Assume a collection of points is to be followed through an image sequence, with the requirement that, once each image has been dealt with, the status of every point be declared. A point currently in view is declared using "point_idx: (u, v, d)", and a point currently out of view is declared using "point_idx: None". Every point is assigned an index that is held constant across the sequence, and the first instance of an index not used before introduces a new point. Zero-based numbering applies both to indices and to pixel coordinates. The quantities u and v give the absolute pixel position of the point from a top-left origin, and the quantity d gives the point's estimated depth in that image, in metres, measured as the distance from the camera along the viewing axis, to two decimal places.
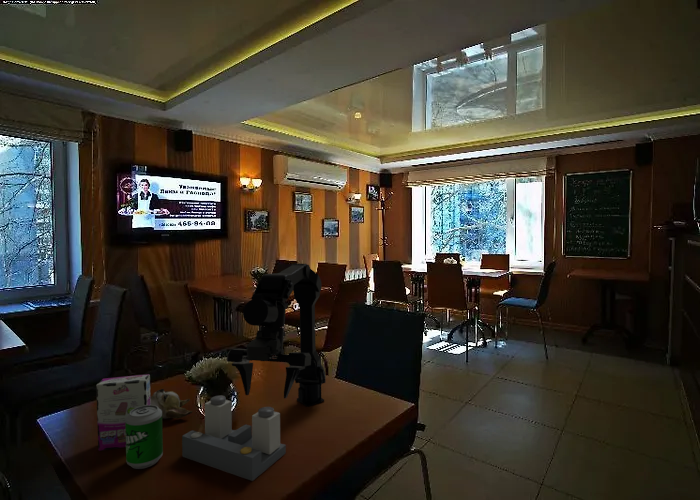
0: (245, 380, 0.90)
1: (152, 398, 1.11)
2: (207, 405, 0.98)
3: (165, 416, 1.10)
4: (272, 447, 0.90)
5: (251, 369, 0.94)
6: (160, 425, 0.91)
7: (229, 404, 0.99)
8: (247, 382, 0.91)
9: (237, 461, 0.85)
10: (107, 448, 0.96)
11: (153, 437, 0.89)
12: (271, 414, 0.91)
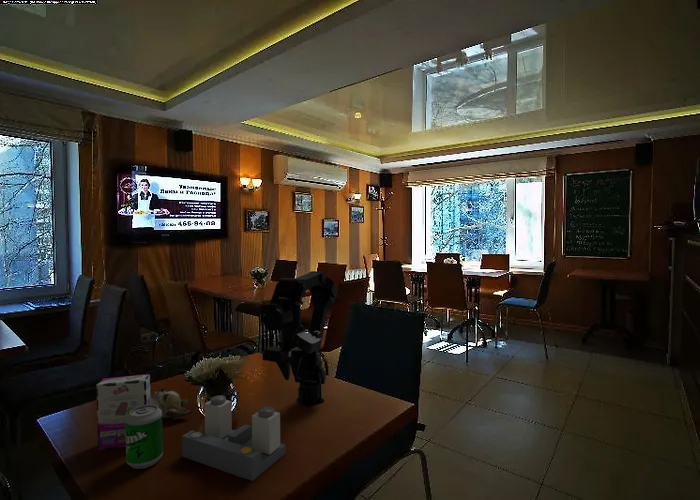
0: (289, 369, 1.09)
1: (153, 397, 1.11)
2: (207, 405, 0.98)
3: (165, 415, 1.11)
4: (272, 447, 0.90)
5: None
6: (160, 425, 0.91)
7: (229, 404, 0.99)
8: None
9: (237, 461, 0.85)
10: (107, 448, 0.96)
11: (153, 437, 0.89)
12: (271, 414, 0.91)
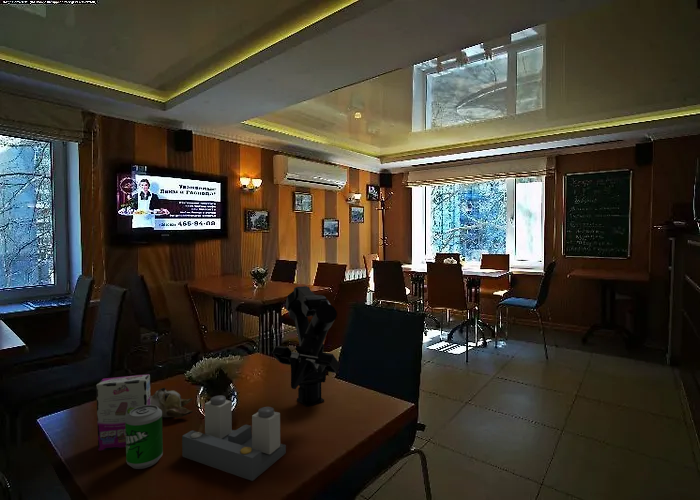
0: None
1: (154, 397, 1.12)
2: (207, 405, 0.98)
3: (166, 415, 1.11)
4: (272, 447, 0.90)
5: None
6: (160, 425, 0.91)
7: (229, 404, 0.99)
8: None
9: (237, 461, 0.85)
10: (107, 448, 0.96)
11: (153, 437, 0.89)
12: (271, 414, 0.91)
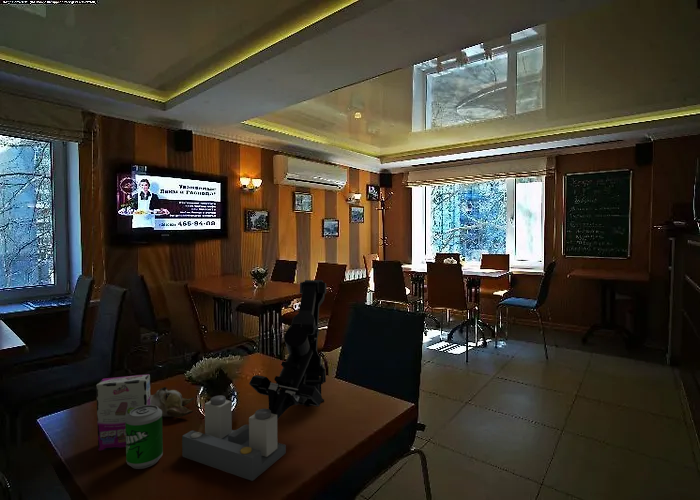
0: None
1: (155, 396, 1.12)
2: (207, 405, 0.98)
3: (166, 414, 1.12)
4: (269, 449, 0.89)
5: None
6: (160, 425, 0.91)
7: (229, 404, 0.99)
8: None
9: (237, 461, 0.85)
10: (107, 448, 0.96)
11: (153, 437, 0.89)
12: (268, 416, 0.90)
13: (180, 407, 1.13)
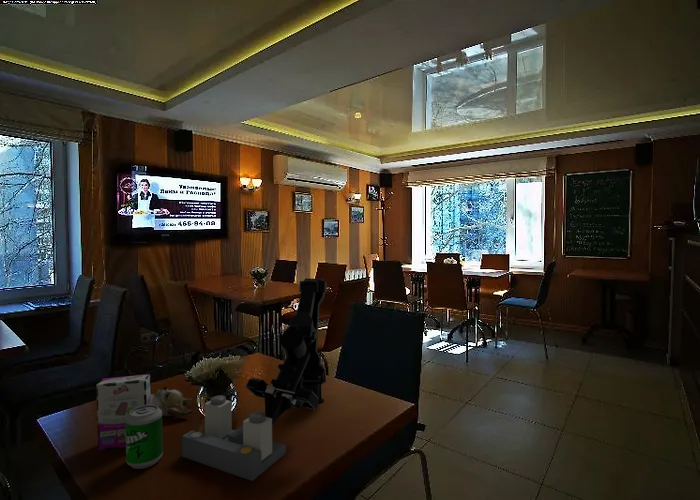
0: None
1: (155, 395, 1.13)
2: (207, 405, 0.98)
3: (167, 414, 1.12)
4: (263, 454, 0.88)
5: None
6: (160, 425, 0.91)
7: (229, 404, 0.99)
8: None
9: (237, 461, 0.85)
10: (107, 448, 0.96)
11: (153, 437, 0.89)
12: (263, 420, 0.88)
13: (180, 407, 1.13)
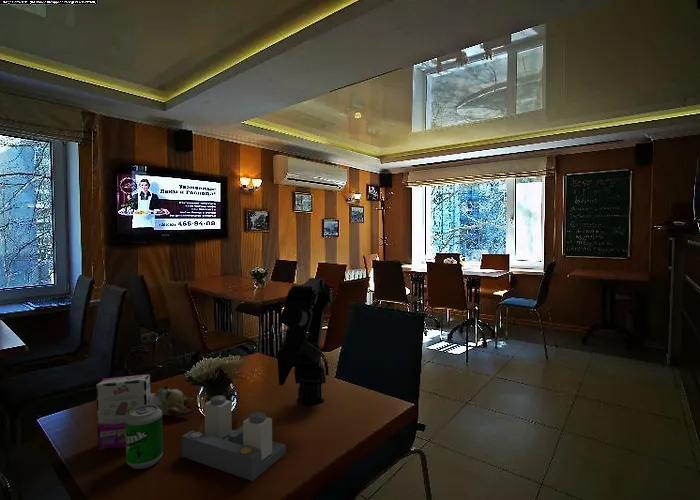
0: None
1: (156, 394, 1.13)
2: (207, 405, 0.98)
3: (167, 413, 1.12)
4: (263, 454, 0.88)
5: None
6: (160, 425, 0.91)
7: (229, 404, 0.99)
8: None
9: (237, 461, 0.85)
10: (107, 448, 0.96)
11: (153, 437, 0.89)
12: (263, 420, 0.88)
13: (181, 406, 1.14)
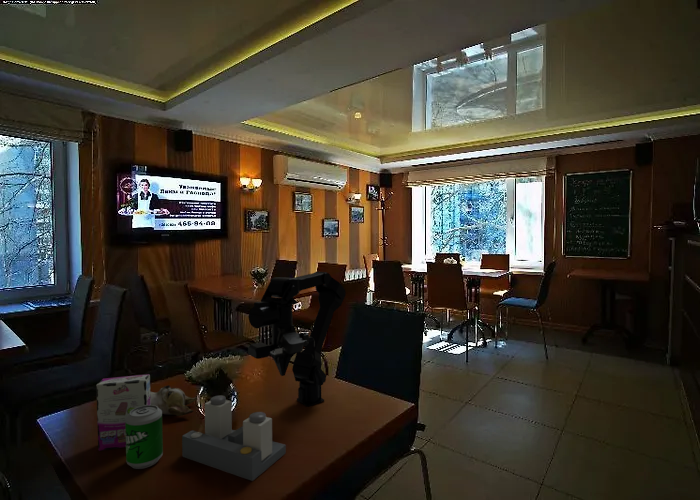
0: (283, 365, 1.12)
1: (158, 393, 1.14)
2: (207, 405, 0.98)
3: (168, 412, 1.13)
4: (263, 454, 0.88)
5: None
6: (160, 425, 0.91)
7: (229, 404, 0.99)
8: None
9: (237, 461, 0.85)
10: (107, 448, 0.96)
11: (153, 437, 0.89)
12: (263, 420, 0.88)
13: (182, 406, 1.14)
